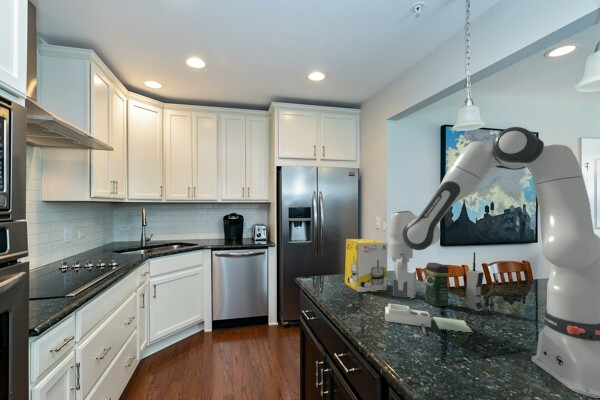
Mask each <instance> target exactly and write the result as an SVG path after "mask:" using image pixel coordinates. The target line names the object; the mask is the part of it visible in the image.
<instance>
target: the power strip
mask: <svg viewBox="0 0 600 400" xmlns="http://www.w3.org/2000/svg"><path fill="white" fill-rule="evenodd" d="M384 308H385V309H384V310H385V311H384V321H385V322H390V323H396V324H397V323H398V324H404V325H411V326H418V327H421V329H422V330H421V331H422V332H423V335H424V336H426V337H427V336H428V333H427V331H426V330H427V329H426V327H427V328H432V318H431V316H430V313H429V312H428V311H425V310H417V309H410V306H409V305H403V304H395V303H388V304H387V306H385V307H384Z"/></svg>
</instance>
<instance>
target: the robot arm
mask: <svg viewBox="0 0 600 400" xmlns="http://www.w3.org/2000/svg"><path fill="white" fill-rule="evenodd" d="M493 168H499V169H504V170H505V169H506V170H511V171H513V170H514V171H516V170H517V171H518V170H521V169H525V168H526V169H528V171H529V172H530V175H531V177H532V182H533V186H534V191H535V196H536V199H537V205H538V209H539V221H540V222H539V223H540V224H539V225H540V235H541V244H542V245H541V251H542V254H543V256H544V257H545V259H546V260H547V261H548V262H549V263H551V265H550V271H549V276H548V281H547V283H546V284H547V285H546V287H547V288H546V310H545V311H544V316H543V319H544V324H545V326H544V328H543V329H542V330H540V332H539V333H538V340H537V348H536V349H537V350H536V355H532V356H531V361H532V362H533V363H534V364H535V365H537V366H538V367H540V368H541V369H542V370H544V371H545V372H546V373H548V374H549V375H550V376H552V377H553V378H555V379H556V380H557V381H558V382H560V383H561V384H563V385H564V386H566V387H567V388H568V389H569V390H571V391H573V392H575V393H578V394H580V395H583V396H586V397H589V398H595V399H597V398H600V237H599V236H598V235H597V234H596V233H595V231H594V224H593V218H592V210H591V203H590V198H589V194H588V191H587V186H586V182H585V178H584V175H583V172H582V168H581V165H580V163H579V161H578V159H577V157H576V154H575V153H574V151H573V150H572V148H570V147H569V146H568V145H565V144H549V145H545V143H544V141H542V139H540V138H539V137H537V136H536V135H535V134H534V133H533V132H531V131H530V130H529V129H527V128H524V127H520V126H513V127H512V126H511V127H509V128H508V127H507V128H505V129H503V130H502V131H500V132H499V133H498V134H497V135H496V136H495V137H494V140H493V142H492V143H487V142H485V141H482V140H481V141H480V140H479V141H478V140H477V141H476V140H475V141H472V142H469V144H467V145H466V146H465V147H464V148H463V150H461V152H460V153H459V154H458V155H457V156H456V158H455V159H454V160H453V162H452V163H451V165H450V166H449V168H448V170H447V171H446V173H445V175H444V176H443V179H442V181H441V183H440V185H439V186H438V188H437V189H436V192H435V193H434V194H433V196H432V197H431V199H430V200H429V202H428V203H427V205H426V206H425V207H424V208H423V209H422V211H421V213H420V214H419V215H417V214H414V213H413V212H412V211H410V210H403V211H397V212H394V213H392V214H391V216H390V219H389V228H388V229H389V230H388V233H389V238H390V239H389V242H388V257H389V258H391V261H392V262H393V270H394V275H395V278H396V279H397V281H398V290H403V285H404V282H407V278H408V263H409V262H410V259H413V256H414V255H413V254H414V251H413V250H415V251H422V250H426V249H427V248H429V247H431V246H433V245H435V244H436V243H437V242H438V241H439V240H440V238H441V229H440V228H439V226H438V224H439V223H440V222H441V220H442V219H443V217H444V216H445V214H446V213H447V212H448V211H449V209H450V208H451V207H453V205H455V204H456V203H457V202H459V201H460V200H463V199H464V198H467V197H470V195H471V194H473V192H474V191H475V190H476V189H477V188H478V187H479V186H480V185H481V183H482V182H483V181H484V179H485V177H486V176H487V174H488V173H489V172H490V171H491V169H493Z"/></svg>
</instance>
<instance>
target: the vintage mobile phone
mask: <svg viewBox="0 0 600 400" xmlns="http://www.w3.org/2000/svg"><path fill="white" fill-rule="evenodd" d="M483 280H484V271H479V270H476V252H475V251H473V262H472V270H469V269H468V270H467V272H466V306H467V307H469V308H471V309H474V310H476V311H479V312H482V311H483V310H484V309H483V308H484V307H483V306H482V285H483ZM471 309H470V310H471ZM481 310H482V311H481ZM476 311H475V312H476Z"/></svg>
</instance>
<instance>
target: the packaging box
mask: <svg viewBox="0 0 600 400" xmlns="http://www.w3.org/2000/svg"><path fill="white" fill-rule="evenodd" d="M388 251H389V242H384V241H380V240H377V239H372V238H365V239H364V238H355V239H354V238H346V239H345V262H344V263H345V264H344V266H345V267H344V284H345V285H346V286H348V287H349V288H351V289H353V290H354V291H356V292H357V293H368V292H367V291H371V292H378V291H377V290H386V291H387V280H388V279H387V277H388V276H387V275H388Z"/></svg>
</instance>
